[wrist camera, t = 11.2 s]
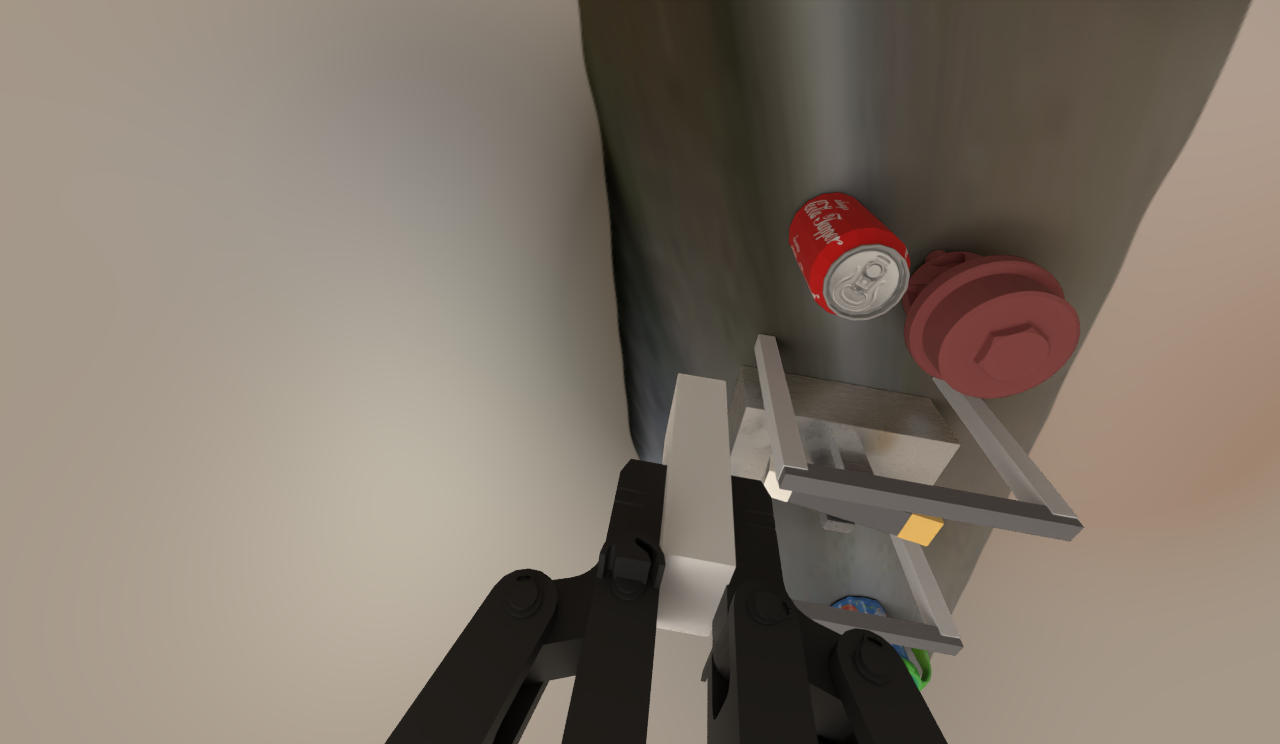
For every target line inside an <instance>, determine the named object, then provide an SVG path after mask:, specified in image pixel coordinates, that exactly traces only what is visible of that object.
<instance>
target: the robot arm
mask: <svg viewBox="0 0 1280 744" xmlns="http://www.w3.org/2000/svg"><path fill="white" fill-rule="evenodd" d="M656 627H657V628H662V629H667V630H673V631H678V632H683V633H689V634H694V635H699V636H705V637H708V636H709V634H710V631H711V629H712V631H713V632H712V633H713V634H712V635H713V647H712V650H711V652H710V655H709V657H708V659H707V662H706V664H705V667H704V669H703V673H702V678H701V681H704V682H705V681H706V680H707V678H708V714H707V717H708V720H707V721H708V722H707V727H708V729H707V732H708V733H707V735H708V736H707V744H948V743H947V742H946V740H945V738H944V736H943V734H942V732H941V730H940V728H939V727H938V725H937V723H936V721H935V719H934V717H933V716H932V713H931V712H930V710H929V708H928V706H927V704H926V702H925V700H924V699H923V697H922V695H921V693H920V691H919V689H918V687H917V685H916V683H915V682H914V680H913V678H912V676H911V674H910V672H909V670H908V669H907V667H906V665H905V663H904V661H903V660H902V658H901V657H900V655H899V654H898V652H897V651H896V650H895V648H894V647H893V646H892V645H891V644H890V643H888V642H887V641H886V640H885V639H884V638H883V637H881V636H879V635H877V634H875V633H873V632H871V631H869V630H866V629H859V628H854V629H851V630H848V631H845V632H844V633H843V635H841V634H839V633H837V632H835V631H833V630H831V629H829V628H827V627H825V626H823V625H821V624H819V623H817V622H815V621H814V620H812V619H810V618H809V617H807V616H806V615H804V614H803V613H802V612H801V611H800V610H799V609H798V608H797V607H796V606H795V605H794V602H793V601H792V600H791V598H790V597H789V596H788V594H787V592H786V590H785V586H784V582H783V576H782V569H781V562H780V556H779V549H778V542H777V535H776V531H775V521H774V517H773V507H772V500H771V496H770V494H769V493H768V491H767V489H766V488H765V486H764V484H763V483H762V481H760V480H755V479H749V478H743V477H738V476H732V475H731V467H730V449H729V431H728V413H727V395H726V381H722V380H716V379H710V378H704V377H698V376H692V375H686V374H680V373H678V378H677V383H676V387H675V392H674V397H673V402H672V407H671V412H670V417H669V422H668V427H667V432H666V436H665V444H664V453H663V462H662V464H657V463H652V462H646V461H640V460H635V459H631V460H630V461H629V462H628V463H627V464H626V466H625V467H624V468H623V469H622V470H621V472H620V477H619V481H618V486H617V491H616V495H615V500H614V505H613V510H612V514H611V519H610V524H609V528H608V533H607V538H606V542H605V543H604V545H603V547H602V549H601V552H600V555H599V561H598V563H597V564H596V565H595V566H594V567H593V568H592V569H591V570H589V571H588V572H586V573H584V574H582V575H579V576H575V577H571V578H564V579H557V580H551V578H550V577H548V576H547V575H546V574H544V573H543V572H541V571H537V570H532V569H522V570H516V571H514V572H512V573H510V574H508V575H506V576H504V577H503V578H502V579H501V580H500V581H499V582H498V583H497V584H496V585H495V586H494V588H493V589H492V590H491V592H490V593H489V595H488V596H487V597H486V599H485V600H484V602H483V603H482V605H481V606H480V607H479V609H478V610H477V612H476V613H475V615H474V616H473V618H472V619H471V621H470V622H469V623H468V625H467V626H466V628H465V629H464V631H463V632H462V633H461V635H460V636H459V638H458V639H457V640H456V642H455V643H454V645H453V646H452V648H451V649H450V651H449V652H448V653H447V655H446V656H445V658H444V659H443V661H442V662H441V664H440V665H439V666H438V668H437V669H436V671H435V672H434V673H433V675H432V676H431V678H430V679H429V681H428V682H427V684H426V685H425V687H424V688H423V689H422V691H421V692H420V694H419V695H418V697H417V698H416V699H415V701H414V702H413V704H412V705H411V706H410V708H409V709H408V711H407V712H406V714H405V715H404V717H403V718H402V719H401V721H400V722H399V724H398V725H397V727H396V728H395V730H394V731H393V732H392V734H391V735H390V737H389V738H388V739H387V741H386V743H385V744H518V743H519V741H520V738H521V737H522V734H523V732H524V730H525V728H526V726H527V724H528V722H529V720H530V718H531V716H532V714H533V712H534V710H535V708H536V706H537V704H538V702H539V700H540V698H541V696H542V694H543V692H544V690H545V688H546V686H547V684H548V682H549V680H554V679H559V678H564V677H569V676H575V675H576V677H575V682H574V687H573V692H572V696H571V702H570V706H569V711H568V715H567V720H566V725H565V730H564V734H563V739H562V744H646V737H647V726H648V715H649V704H650V691H651V680H652V670H653V658H654V647H655V636H656Z"/></svg>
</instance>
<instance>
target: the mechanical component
mask: <svg viewBox="0 0 1280 744" xmlns="http://www.w3.org/2000/svg"><path fill="white" fill-rule="evenodd" d="M902 304H903V308H904V311H905V313H906V315H907V317H906V321H905V326H904V338H905V343H906V346H907V349H908V351H909V352H910V354H911V356H912V357H913V358H914V360H915V361H916V363H917V364H918V365H919V366H920V367H921V368H922V369H923V370H924V371H925V372H926V373H928V374H929V375H931V376H933V377H935V378H937V379H940V380H944V381H945V382H946V383H947V384H948V385H949V386H950V387H951V388H953V389H954V390H956V391H958V392H959V393H962V394H964V395H967V396H971V397H976V398H1000V397H1006V396H1010V395H1014V394H1018V393H1021V392H1023V391H1026V390H1028V389H1031V388H1033V387H1035V386H1037V385H1039V384H1040V383H1042V382H1044V381H1045V380H1047V379H1048V378H1049V377H1051V376H1052V375H1054V374H1055V373H1056V372H1057V371H1058V370H1059V369H1060V368H1061V367H1062V366H1063V365H1064V364H1065V363H1066V362H1067V360H1068V359H1069V358H1070V356H1071V355H1072V353H1073V352H1074V350H1075V348H1076V345H1077V343H1078V340H1079V335H1080V322H1079V318H1078V315H1077V313H1076V311H1075V309H1074V308H1073V307H1072V306H1071V305H1070V304H1069V303H1068V302H1067V301H1065V299H1064V294H1063V290H1062V288H1061V286H1060V284H1059V282H1058V281H1057V280H1056V279H1055V277H1054V276H1053V275H1052V274H1050V273H1049V272H1048V271H1046V270H1045V269H1043V268H1042V267H1040V266H1038V265H1037V264H1035V263H1033V262H1032V261H1029V260H1027V259H1024V258H1021V257H1017V256H1010V255H990V256H984V257H982V256H980V255H977V254H975V253H971V252H965V251H957V252H950V253H946V252H944V251H943V250H934V251H932V252H931V253H929V254H928V256H927V257H926V259H925V264H923V265H922V266H921V267H920V268H919V269H918V270H916V271H915V272H914V274H913V275H912V276H911V278H910V279H909V282H908V287H907V290H906V292H905V293H904V295H903V298H902Z"/></svg>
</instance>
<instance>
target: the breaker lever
mask: <svg viewBox="0 0 1280 744" xmlns="http://www.w3.org/2000/svg"><path fill="white" fill-rule="evenodd" d="M762 483H763V484H764V486H765V488H766V489H767V491H768V493H769V494H770V496H771V497H772V498H775V499H778V500H781V501H785V502H791V503H794V504H797V505H800V506H803V507H806V508H810V509H813V510H816V511H819V512H822V513H825V514H829V515H832V516H835V517H838V518H841V519H844V520H848V521H851V522H854V523H857V524H860V525H863V526H867V527H870V528H873V529H876V530H879V531H882V532H886V533H889V534H892V535H895V536H897V537H899V538H902V539H905V540H908V541H911V542H915V543H918V544H921V545H924V546H928V545H929V543H930V542H931V540H932V539H933V538H934V536H935V535H936V534H937V532H938V531H939V530H940V528H941V527H942V526H943V524H944V522H943V519H942V518H938V517H932V516H927V515H921V514H916V513H910V512H905V511H899V510H894V509H888V508H883V507H877V506H872V505H866V504H861V503H855V502H849V501H844V500H838V499H833V498H827V497H822V496H816V495H811V494H805V493H800V492H794V491H789V490H783V489H779V484H778V482H777V480H776V474H775V468H774V462H773V456H772V455H771V456H770V458H769V461H768V463H767V466H766V468H765V471H764V474H763V476H762Z"/></svg>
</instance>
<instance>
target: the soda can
mask: <svg viewBox="0 0 1280 744" xmlns="http://www.w3.org/2000/svg"><path fill="white" fill-rule="evenodd" d="M789 243H790V246H791V248H792V251H793V253H794V256H795V258H796V260H797V262H798V264H799V267H800V269H801V271H802V273H803V275H804V278H805V280H806V282H807V284H808V286H809V288H810V291H811V293H812V295H813V297H814V299H815V302H817V303H818V304H819V305H820V306H821V307H822V308H823V309H824V310H826V311H827V312H828V313H832V314H835V315H838V316H839V317H843V318H846V319H849V320H852V321H855V320H869V319H872V318H875V317H877V316H880V315H882V314H885V313H886V312H887V311H889V310H890V309H891V308H892V307H894V306H895V305H896V304H898V302H899V301H900V299H901V298H902V296H903V295H904V293H905V292H906V290H907V287H908V282H909V276H910V273H909V268H910V263H911V262H910V259H909V255H908V252H907V248H906V246H905V245H904V244H903V243H902V242H901V241H900V240H899V239H898V238H897V237H896V236H895V235H894V234H893V233H892V232H891V231H890V230H889V229H888V228H887V227H886V226H885V225H884V224H882V223H881V222H880V221H879V220H878V219H877V218H876V217H875V216H874V215H873V214H872V213H870V212H869V211H868V210H867V209H866V208H865V207H864V206H863V205H862V204H861V203H859V202H858V201H857V200H856V199H855V198H854V197H852V196H849V195H846V194H843V193H840V192H838V193H827V194H822V195H820V196H818V197H816V198H814V199H812V200H809V201H808V202H807V203H806V204H805V205H804V206H803V207H802V208H801V209H800V210H799V211H798V212H797V213H796V215H795V217H794V219H793V221H792V223H791V225H790V229H789Z"/></svg>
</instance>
